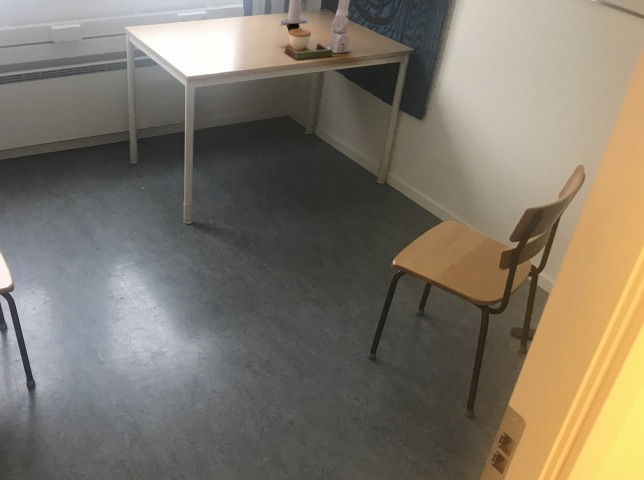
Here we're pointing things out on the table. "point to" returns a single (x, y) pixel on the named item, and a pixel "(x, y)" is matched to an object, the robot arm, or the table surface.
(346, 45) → the robot arm
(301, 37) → the trinket box
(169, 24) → the table surface
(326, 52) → the olive green tray
